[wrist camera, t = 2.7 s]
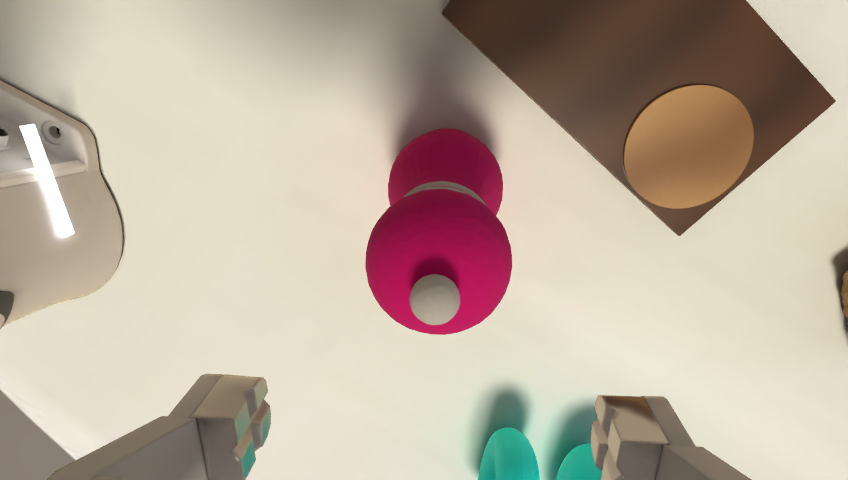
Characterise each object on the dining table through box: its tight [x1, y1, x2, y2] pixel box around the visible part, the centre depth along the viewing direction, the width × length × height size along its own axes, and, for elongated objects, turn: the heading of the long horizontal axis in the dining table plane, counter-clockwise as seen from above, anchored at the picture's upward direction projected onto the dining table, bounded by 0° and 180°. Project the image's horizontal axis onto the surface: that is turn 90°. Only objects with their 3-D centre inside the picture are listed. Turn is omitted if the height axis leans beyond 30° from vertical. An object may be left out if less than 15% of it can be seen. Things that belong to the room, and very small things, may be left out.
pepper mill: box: [366, 128, 512, 335], centre depth 25 cm, size 7×7×20 cm
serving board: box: [442, 0, 835, 236], centre depth 30 cm, size 22×12×2 cm, turn 50°
